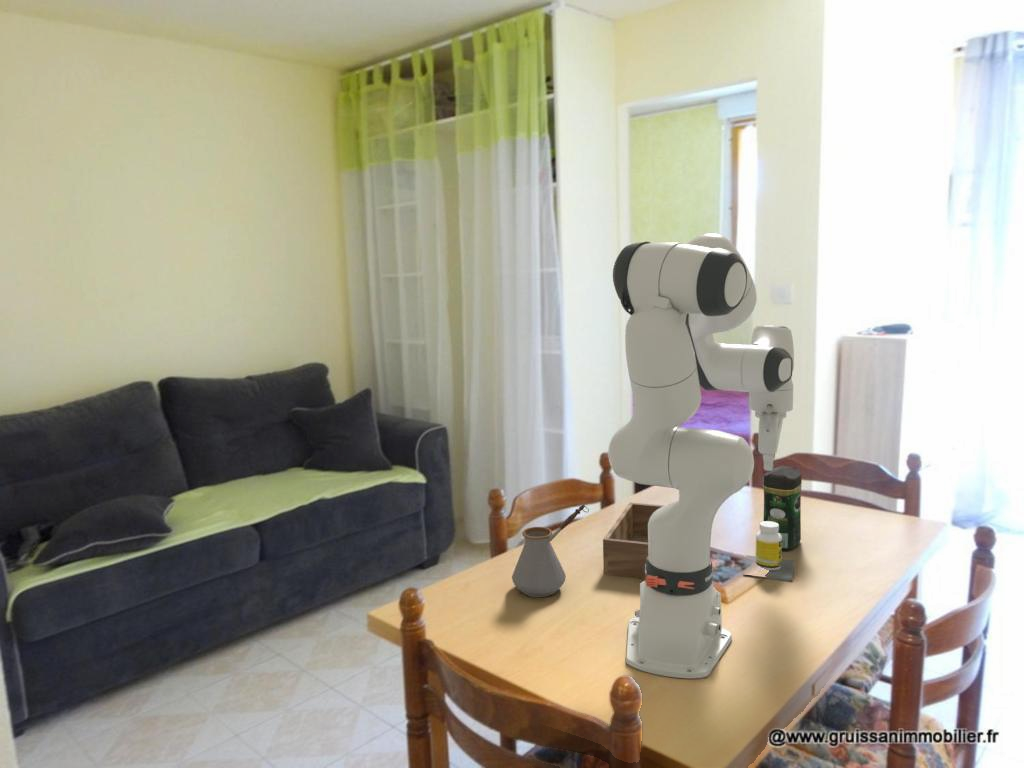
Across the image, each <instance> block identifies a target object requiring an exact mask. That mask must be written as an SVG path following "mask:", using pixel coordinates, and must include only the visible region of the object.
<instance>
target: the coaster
mask: <svg viewBox="0 0 1024 768" xmlns="http://www.w3.org/2000/svg"><path fill="white" fill-rule="evenodd" d="M746 557H748V558H751V559H755V558H756V555H746ZM793 574H794V559H785V558H781V568H780V569H778V570H773V571H769V572H768V573H767V574H766V575H765V576H766V577H767V578H766V579H769V580H770V579H771V580H780V581H787V582H793V577H794V576H793Z"/></svg>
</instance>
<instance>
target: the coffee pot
mask: <svg viewBox="0 0 1024 768" xmlns="http://www.w3.org/2000/svg"><path fill="white" fill-rule="evenodd" d="M584 509H586V510H587V511H585V510H584ZM581 511H583V512H584V513H589V512H590V510H589V508H588V507H587V506H586V505H585V504H582V505H580V506H579V507H578V508H576V509H575V510H574V512H573V513H571V514H570V515H569V516H568V517H567V518H566V519H565V520H564V521H563V522H562V523H561V525H560V526H559V527H558V528H557V529H556V530H555V531H554V532H553V530H552V529H550V528H549V527H544V526H531V527H528V528H525V529H524V530H523V531H522V532H521V534H522V535H521V536H523V538H524V540H525V543H524V545H523V547H522V550H521V552H520V555H519V557H518V560H517V562H516V565H515V568H514V571H513V573H512V576H511V579H512V583H513V584H514V586H515V587H516V588H517V589H518V590H519V591H520V592H521V593H522V594H524V595H526V596H528V597H533V598H543V597H549V596H552V595H554V594H556V592H557V591H558V590H559V589H560V588H561V587H562V586H563V585H564V583H565V581H566V572H565V570H564V569H563V566H562V564H561V561H559V558H558V556H557V554H556V552H555V549H554V547H553V545H552V543H551V542H552V541H553V539H554V538H556V536H557V535H558V534H559V533H561V531H563V530H564V529H565V528H566V527H567V526H569V524H571V523H572V522H573V521H574V520H575V518H576V517H577V516H578V515H581Z"/></svg>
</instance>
